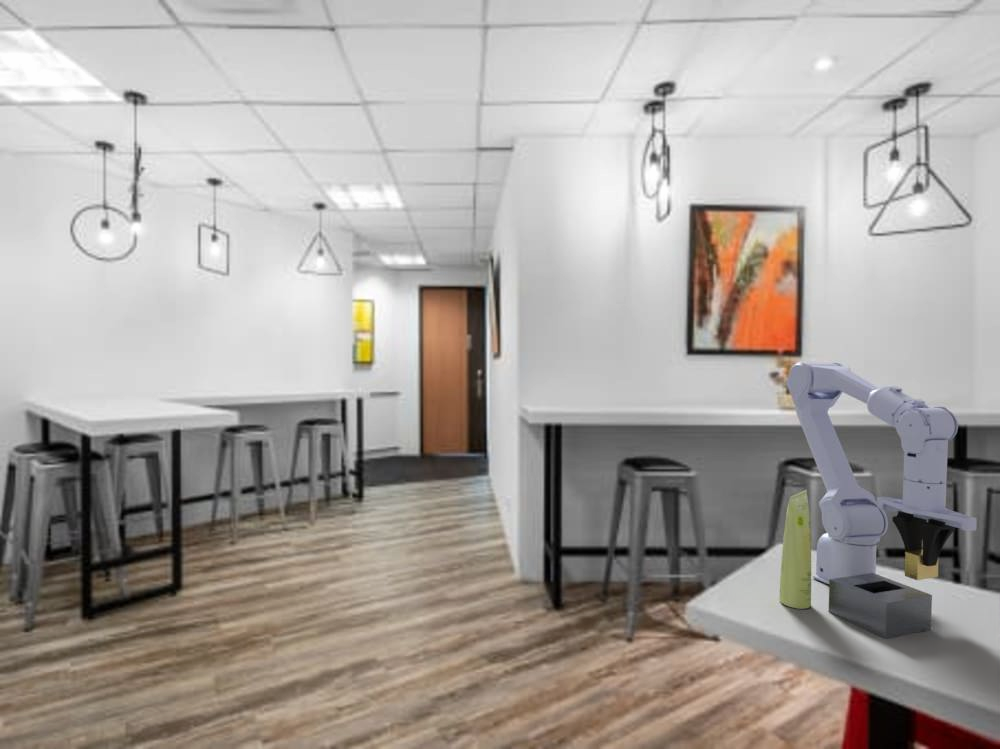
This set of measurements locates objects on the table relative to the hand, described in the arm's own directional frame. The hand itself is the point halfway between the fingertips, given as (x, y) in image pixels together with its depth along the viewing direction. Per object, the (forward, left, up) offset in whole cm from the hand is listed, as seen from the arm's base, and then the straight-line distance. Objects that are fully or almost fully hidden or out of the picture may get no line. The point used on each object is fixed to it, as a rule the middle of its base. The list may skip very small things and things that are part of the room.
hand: (921, 562), depth 95 cm
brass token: (0, 0, -2) cm, 2 cm away
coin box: (-2, -7, -9) cm, 12 cm away
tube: (-11, -15, -10) cm, 21 cm away
